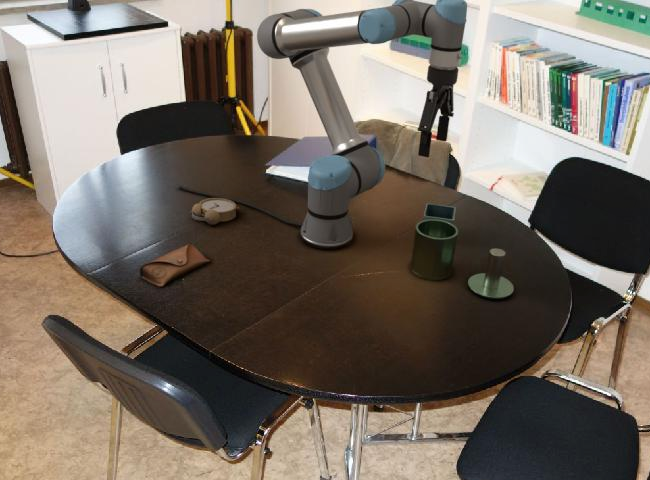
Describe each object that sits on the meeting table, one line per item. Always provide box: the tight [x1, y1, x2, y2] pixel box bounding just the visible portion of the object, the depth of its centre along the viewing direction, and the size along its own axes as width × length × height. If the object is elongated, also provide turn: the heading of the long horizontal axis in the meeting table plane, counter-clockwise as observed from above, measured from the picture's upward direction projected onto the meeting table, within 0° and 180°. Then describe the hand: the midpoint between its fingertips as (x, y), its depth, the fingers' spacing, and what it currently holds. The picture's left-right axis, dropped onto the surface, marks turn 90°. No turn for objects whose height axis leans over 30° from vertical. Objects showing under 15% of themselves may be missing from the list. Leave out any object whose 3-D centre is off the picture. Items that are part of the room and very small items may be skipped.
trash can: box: [410, 219, 459, 281], centre depth 186 cm, size 11×11×13 cm
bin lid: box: [467, 248, 515, 300], centre depth 180 cm, size 12×12×11 cm
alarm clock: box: [190, 197, 240, 226], centre depth 208 cm, size 11×5×15 cm
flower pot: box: [423, 202, 457, 225], centre depth 203 cm, size 9×9×9 cm
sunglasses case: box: [139, 242, 211, 288], centre depth 182 cm, size 18×7×7 cm, turn 144°
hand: (432, 148), depth 182 cm, fingers open, 13 cm apart
